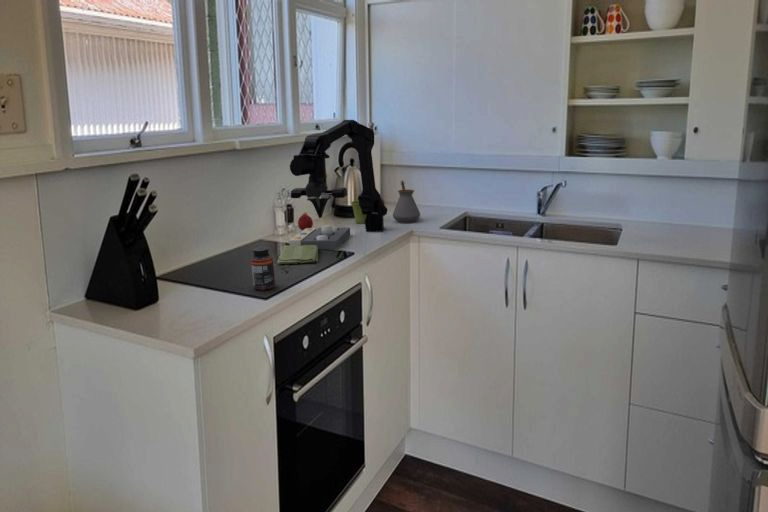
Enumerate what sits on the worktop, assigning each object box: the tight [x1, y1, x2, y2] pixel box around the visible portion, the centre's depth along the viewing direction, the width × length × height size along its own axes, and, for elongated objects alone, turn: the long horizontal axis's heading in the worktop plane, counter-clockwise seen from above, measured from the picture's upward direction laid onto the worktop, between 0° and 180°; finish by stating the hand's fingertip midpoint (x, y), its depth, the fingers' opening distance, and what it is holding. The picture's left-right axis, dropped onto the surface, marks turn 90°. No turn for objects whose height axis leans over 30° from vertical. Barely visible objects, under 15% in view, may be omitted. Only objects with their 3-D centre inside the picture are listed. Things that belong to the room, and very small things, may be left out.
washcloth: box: [277, 244, 319, 266], centre depth 197 cm, size 13×18×3 cm
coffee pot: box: [392, 180, 421, 224], centre depth 252 cm, size 21×12×15 cm, turn 3°
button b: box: [320, 224, 333, 236], centre depth 217 cm, size 4×4×4 cm
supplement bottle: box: [250, 246, 276, 291], centre depth 166 cm, size 6×6×11 cm
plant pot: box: [350, 199, 366, 225], centre depth 249 cm, size 9×9×9 cm
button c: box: [316, 235, 328, 240], centre depth 210 cm, size 4×4×4 cm
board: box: [302, 227, 351, 250], centre depth 217 cm, size 12×22×3 cm, turn 170°
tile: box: [288, 227, 317, 246], centre depth 219 cm, size 4×20×3 cm, turn 170°
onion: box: [297, 212, 314, 232], centre depth 234 cm, size 6×6×8 cm
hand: (320, 217), depth 208 cm, fingers closed
